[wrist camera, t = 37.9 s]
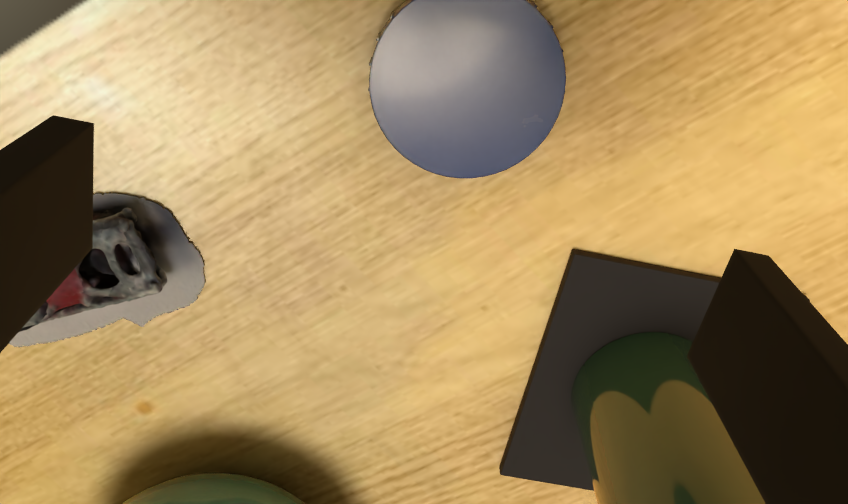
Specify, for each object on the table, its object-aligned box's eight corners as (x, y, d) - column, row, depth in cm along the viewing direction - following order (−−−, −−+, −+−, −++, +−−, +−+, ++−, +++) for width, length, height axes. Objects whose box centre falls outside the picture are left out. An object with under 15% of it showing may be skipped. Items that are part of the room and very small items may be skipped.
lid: (348, 133, 34) (344, 146, 32) (404, -53, 30) (403, -50, 29) (518, 188, 35) (522, 203, 33) (591, 14, 31) (599, 21, 30)
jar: (595, 319, 37) (686, 553, 24) (740, 346, 38) (904, 588, 25) (553, 437, 40) (612, 700, 27) (686, 460, 41) (807, 727, 28)
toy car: (-74, 258, 37) (-116, 289, 34) (118, 141, 34) (90, 165, 31) (44, 382, 40) (15, 420, 37) (228, 284, 37) (211, 317, 34)
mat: (572, 248, 36) (574, 253, 36) (804, 294, 37) (810, 300, 37) (499, 467, 42) (500, 475, 42) (701, 501, 43) (704, 509, 43)
